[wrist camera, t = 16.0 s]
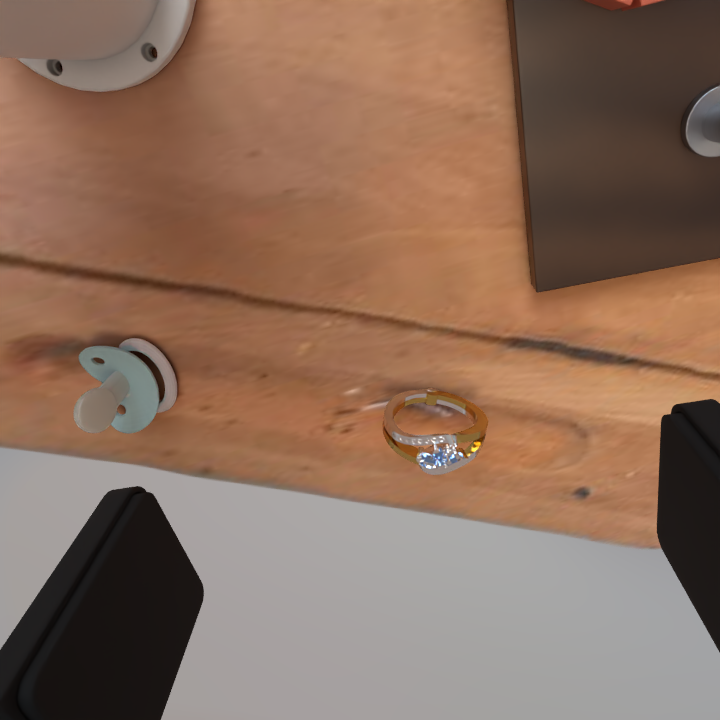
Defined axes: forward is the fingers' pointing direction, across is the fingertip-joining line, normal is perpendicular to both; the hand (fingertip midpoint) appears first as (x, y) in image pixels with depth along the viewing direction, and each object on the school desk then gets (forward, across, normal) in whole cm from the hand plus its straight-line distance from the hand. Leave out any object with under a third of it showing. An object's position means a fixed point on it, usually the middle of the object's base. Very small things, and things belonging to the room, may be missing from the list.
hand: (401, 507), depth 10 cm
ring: (+26, 0, +14) cm, 30 cm away
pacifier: (+26, +21, +8) cm, 35 cm away
